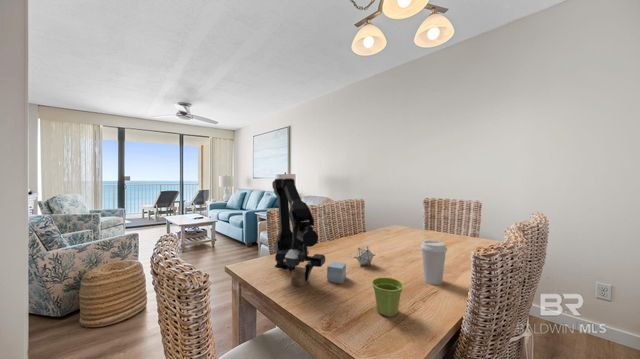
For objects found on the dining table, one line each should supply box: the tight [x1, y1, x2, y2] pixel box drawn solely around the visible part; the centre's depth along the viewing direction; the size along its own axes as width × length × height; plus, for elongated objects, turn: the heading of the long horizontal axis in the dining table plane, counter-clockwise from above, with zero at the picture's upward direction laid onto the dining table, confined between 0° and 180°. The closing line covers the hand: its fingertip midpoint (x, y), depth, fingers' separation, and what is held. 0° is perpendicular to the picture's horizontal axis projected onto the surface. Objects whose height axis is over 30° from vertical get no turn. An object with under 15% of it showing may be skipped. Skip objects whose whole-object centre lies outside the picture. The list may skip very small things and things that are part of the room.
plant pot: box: [371, 276, 404, 317], centre depth 77 cm, size 9×9×9 cm
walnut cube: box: [290, 266, 310, 288], centre depth 97 cm, size 5×5×5 cm
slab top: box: [326, 260, 347, 274], centre depth 100 cm, size 6×6×2 cm
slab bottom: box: [326, 272, 347, 284], centre depth 100 cm, size 6×6×2 cm
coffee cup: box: [419, 239, 448, 286], centre depth 98 cm, size 10×10×15 cm
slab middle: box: [326, 267, 347, 279], centre depth 100 cm, size 6×6×2 cm
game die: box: [353, 246, 376, 267], centre depth 115 cm, size 9×8×10 cm
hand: (300, 280), depth 97 cm, fingers closed on walnut cube, 5 cm apart
